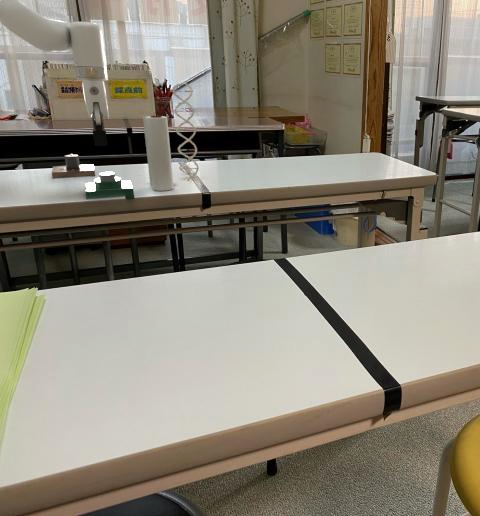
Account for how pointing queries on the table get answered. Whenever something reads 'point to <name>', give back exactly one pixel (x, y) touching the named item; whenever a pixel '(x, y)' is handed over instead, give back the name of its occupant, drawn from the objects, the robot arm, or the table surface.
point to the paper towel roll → (158, 152)
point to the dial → (72, 161)
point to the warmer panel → (73, 171)
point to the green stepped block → (109, 189)
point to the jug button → (107, 176)
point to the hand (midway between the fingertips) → (100, 145)
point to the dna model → (188, 130)
